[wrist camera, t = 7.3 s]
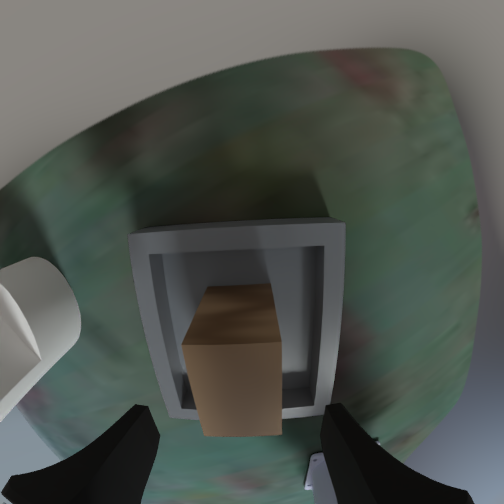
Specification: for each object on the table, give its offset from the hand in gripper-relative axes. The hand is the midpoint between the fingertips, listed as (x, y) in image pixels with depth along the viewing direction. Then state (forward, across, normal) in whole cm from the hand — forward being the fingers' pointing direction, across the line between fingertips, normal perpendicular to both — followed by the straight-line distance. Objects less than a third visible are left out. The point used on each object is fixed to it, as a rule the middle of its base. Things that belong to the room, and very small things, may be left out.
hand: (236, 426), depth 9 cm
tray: (+10, 0, 0) cm, 10 cm away
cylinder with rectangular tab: (+10, +18, -1) cm, 20 cm away
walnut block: (+9, 0, 0) cm, 9 cm away
